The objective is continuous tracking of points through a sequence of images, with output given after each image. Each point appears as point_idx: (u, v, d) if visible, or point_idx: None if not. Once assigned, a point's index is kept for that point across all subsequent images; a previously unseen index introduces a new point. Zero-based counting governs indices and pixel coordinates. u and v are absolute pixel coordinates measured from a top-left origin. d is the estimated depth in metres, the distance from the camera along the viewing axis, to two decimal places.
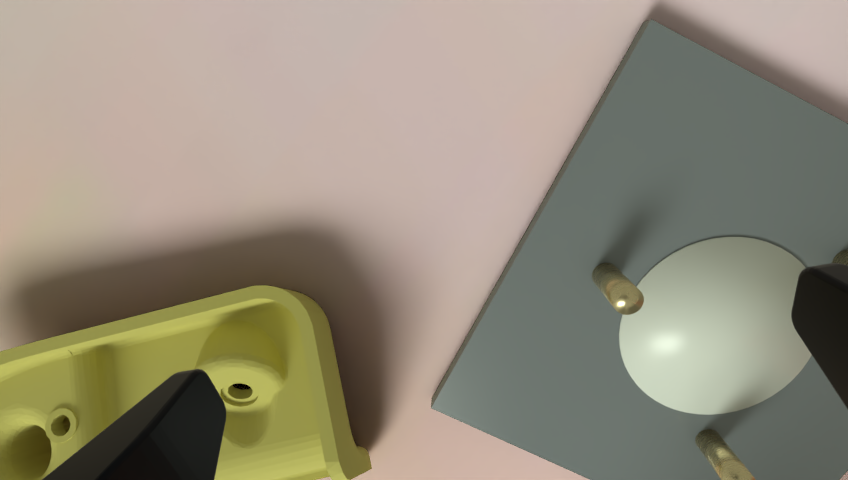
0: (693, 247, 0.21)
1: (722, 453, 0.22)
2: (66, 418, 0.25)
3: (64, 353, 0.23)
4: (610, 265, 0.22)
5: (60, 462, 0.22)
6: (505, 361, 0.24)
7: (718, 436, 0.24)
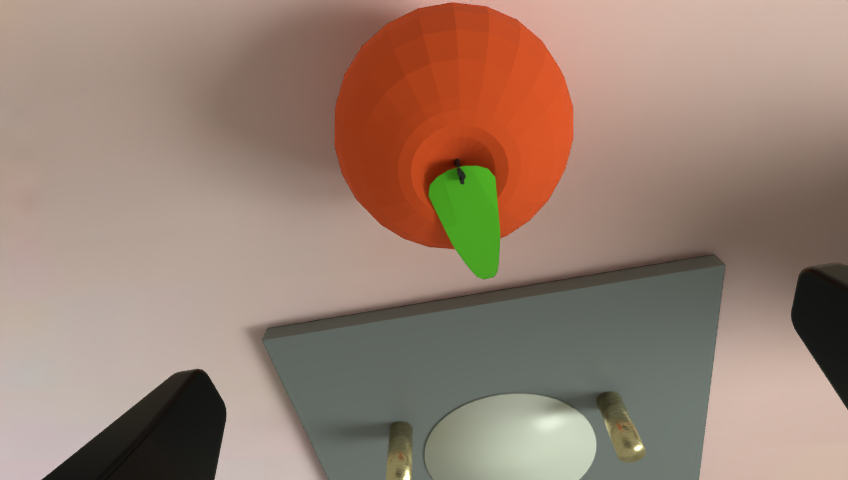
0: None
1: None
2: None
3: None
4: None
5: None
6: None
7: None
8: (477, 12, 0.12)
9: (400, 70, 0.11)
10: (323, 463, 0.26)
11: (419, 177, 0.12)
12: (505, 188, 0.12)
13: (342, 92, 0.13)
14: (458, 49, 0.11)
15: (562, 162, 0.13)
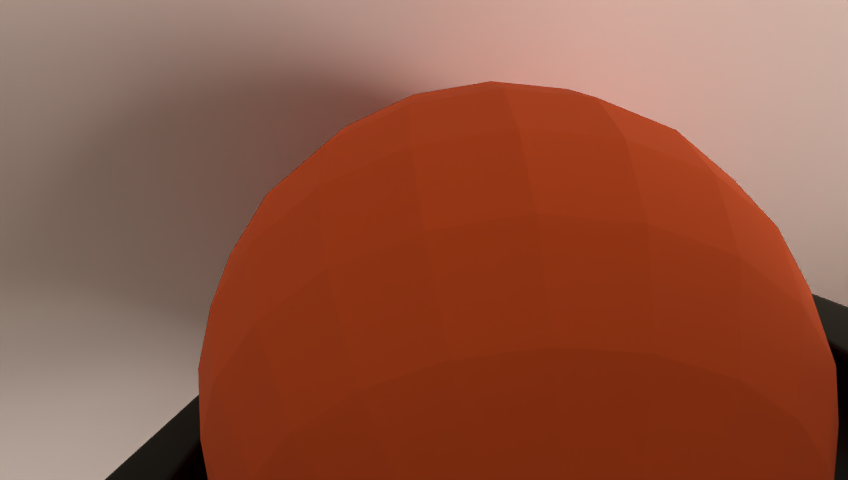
0: None
1: None
2: None
3: None
4: None
5: None
6: None
7: None
8: (588, 132, 0.04)
9: (345, 359, 0.03)
10: None
11: None
12: None
13: (207, 327, 0.05)
14: (551, 301, 0.03)
15: None
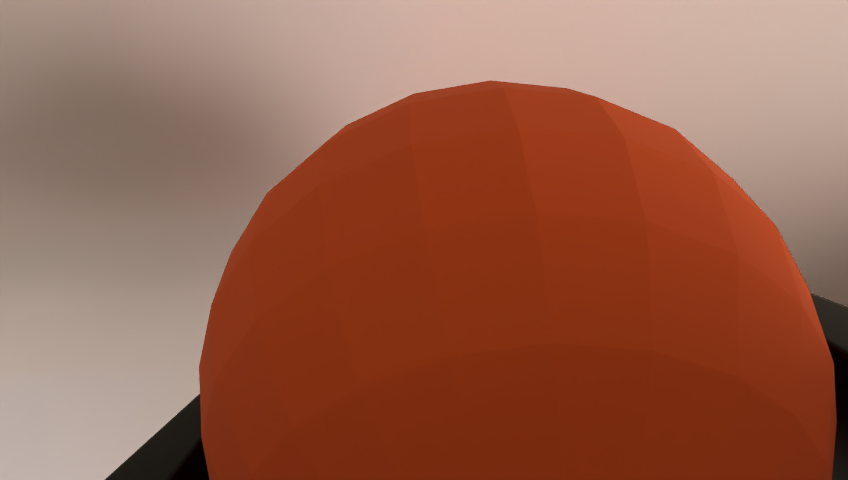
0: None
1: None
2: None
3: None
4: None
5: None
6: None
7: None
8: (588, 131, 0.04)
9: (347, 356, 0.03)
10: None
11: None
12: None
13: (208, 326, 0.05)
14: (552, 299, 0.03)
15: None
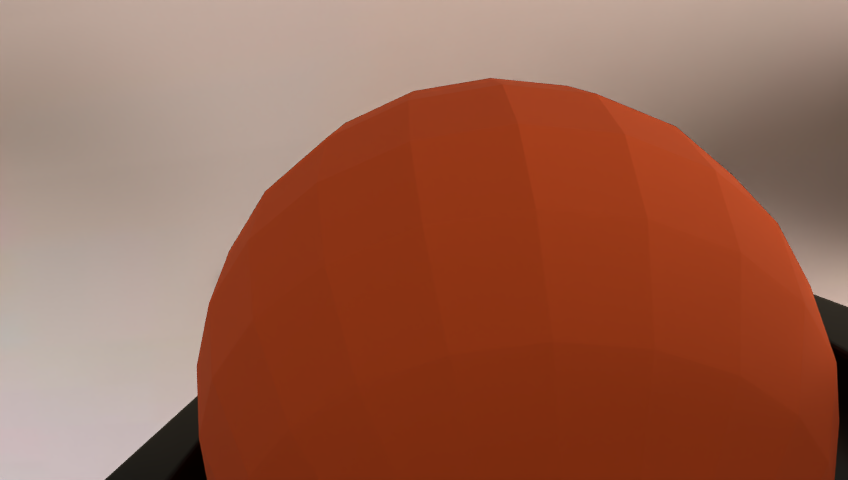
0: None
1: None
2: None
3: None
4: None
5: None
6: None
7: None
8: (588, 128, 0.04)
9: (343, 354, 0.03)
10: None
11: None
12: None
13: (206, 325, 0.05)
14: (551, 296, 0.03)
15: None
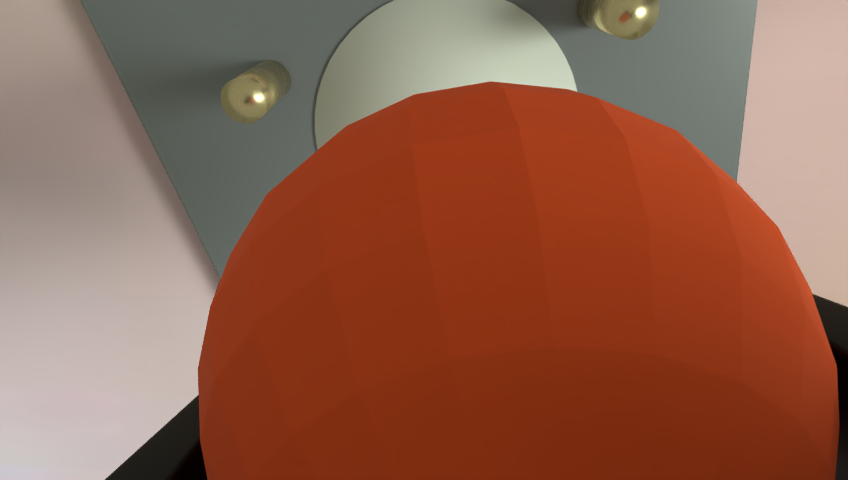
0: None
1: (602, 30, 0.14)
2: None
3: None
4: None
5: None
6: None
7: (581, 14, 0.14)
8: (589, 132, 0.04)
9: (346, 360, 0.03)
10: (164, 158, 0.17)
11: None
12: None
13: (207, 328, 0.05)
14: (553, 301, 0.03)
15: None
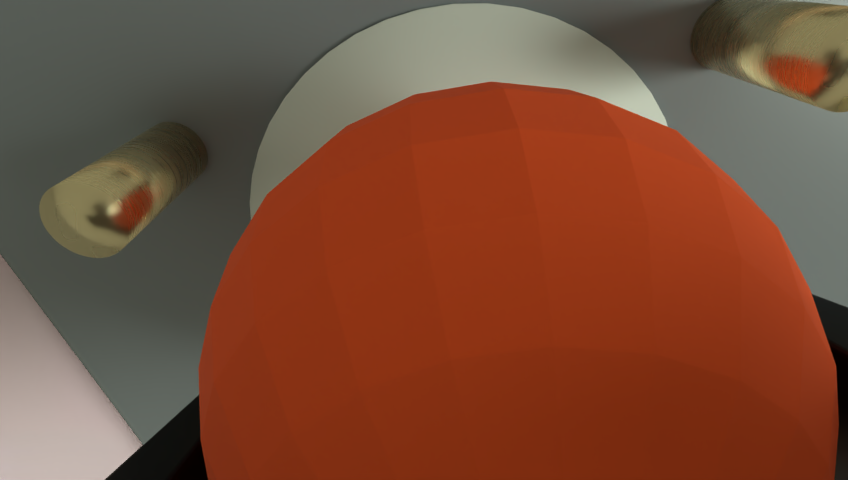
0: None
1: (757, 83, 0.07)
2: None
3: None
4: None
5: None
6: None
7: (705, 50, 0.08)
8: (589, 132, 0.04)
9: (346, 359, 0.03)
10: (17, 268, 0.11)
11: None
12: None
13: (207, 328, 0.05)
14: (553, 302, 0.03)
15: None
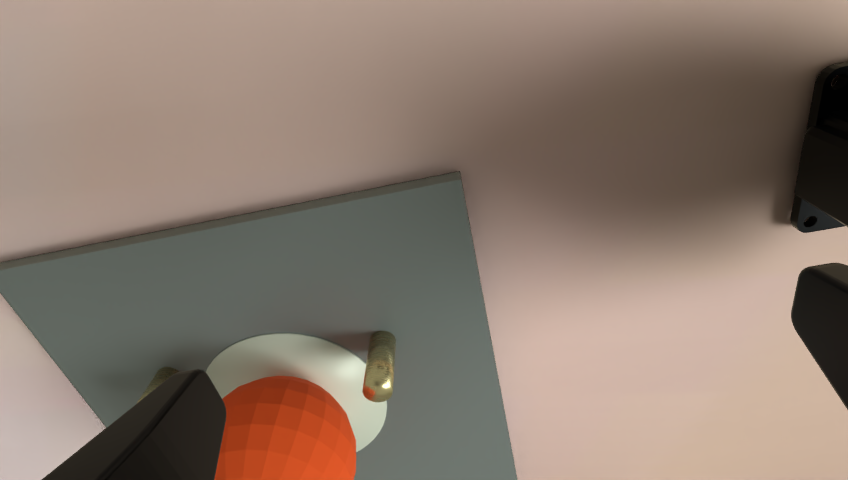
0: None
1: None
2: None
3: None
4: None
5: None
6: None
7: None
8: (267, 423, 0.18)
9: None
10: (100, 416, 0.24)
11: None
12: None
13: None
14: (244, 468, 0.17)
15: None
